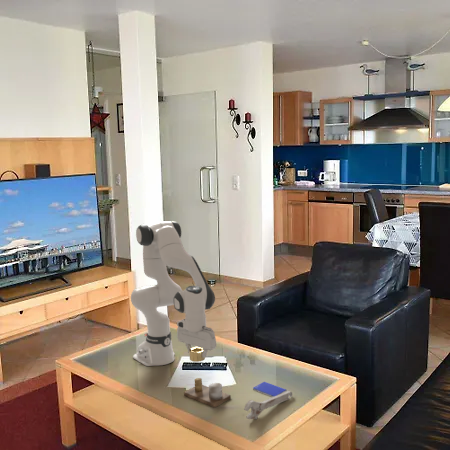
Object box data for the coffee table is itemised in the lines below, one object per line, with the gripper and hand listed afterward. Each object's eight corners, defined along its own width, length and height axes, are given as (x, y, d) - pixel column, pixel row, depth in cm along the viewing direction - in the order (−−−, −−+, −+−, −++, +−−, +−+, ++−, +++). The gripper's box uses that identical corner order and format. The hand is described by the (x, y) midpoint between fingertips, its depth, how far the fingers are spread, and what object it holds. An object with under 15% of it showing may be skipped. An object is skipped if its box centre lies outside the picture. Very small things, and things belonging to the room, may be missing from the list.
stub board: (184, 395, 235) (183, 381, 234) (199, 386, 242) (199, 373, 241) (214, 407, 223) (214, 392, 222) (230, 398, 231) (230, 384, 230)
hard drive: (252, 387, 238) (275, 396, 230) (264, 381, 244) (286, 389, 235) (252, 390, 238) (275, 399, 230) (264, 384, 244) (286, 392, 236)
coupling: (186, 359, 233) (186, 350, 233) (197, 354, 238) (196, 346, 237) (197, 362, 229) (197, 353, 229) (207, 358, 234) (207, 349, 233)
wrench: (292, 404, 231) (246, 424, 208) (288, 402, 232) (243, 422, 210) (293, 385, 230) (247, 404, 208) (289, 384, 231) (244, 402, 209)
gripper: (218, 326, 227) (220, 358, 229) (184, 318, 240) (185, 347, 242) (208, 331, 222) (210, 363, 224) (174, 321, 235) (175, 352, 238)
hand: (197, 355), depth 233 cm, fingers closed on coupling, 6 cm apart
